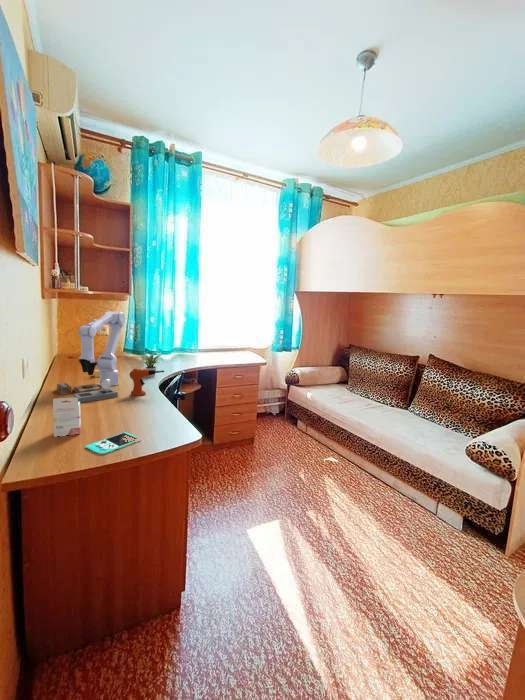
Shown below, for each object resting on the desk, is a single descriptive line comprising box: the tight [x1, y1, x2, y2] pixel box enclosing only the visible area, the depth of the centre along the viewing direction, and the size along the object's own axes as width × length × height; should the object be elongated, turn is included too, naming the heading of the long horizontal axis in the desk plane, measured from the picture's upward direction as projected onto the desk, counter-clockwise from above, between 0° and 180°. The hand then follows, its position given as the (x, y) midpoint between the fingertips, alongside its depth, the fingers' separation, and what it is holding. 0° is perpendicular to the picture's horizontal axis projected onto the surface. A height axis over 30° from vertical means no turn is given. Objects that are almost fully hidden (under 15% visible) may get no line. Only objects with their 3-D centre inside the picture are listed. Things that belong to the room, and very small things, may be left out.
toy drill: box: [128, 368, 165, 397], centre depth 173 cm, size 5×19×15 cm, turn 100°
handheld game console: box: [84, 431, 137, 453], centre depth 115 cm, size 10×16×1 cm, turn 148°
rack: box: [73, 388, 119, 404], centre depth 163 cm, size 18×8×2 cm, turn 136°
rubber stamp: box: [94, 369, 100, 378], centre depth 205 cm, size 10×6×12 cm, turn 117°
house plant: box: [142, 352, 160, 378], centre depth 211 cm, size 14×14×16 cm
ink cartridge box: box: [52, 397, 82, 438], centre depth 120 cm, size 9×5×15 cm, turn 114°
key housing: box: [56, 382, 72, 395], centre depth 169 cm, size 4×10×4 cm, turn 46°
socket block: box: [73, 383, 102, 394], centre depth 172 cm, size 10×10×2 cm
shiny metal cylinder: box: [101, 379, 111, 394], centre depth 166 cm, size 4×4×9 cm
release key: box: [58, 382, 68, 387], centre depth 170 cm, size 2×9×2 cm, turn 46°
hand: (88, 373), depth 170 cm, fingers open, 7 cm apart
